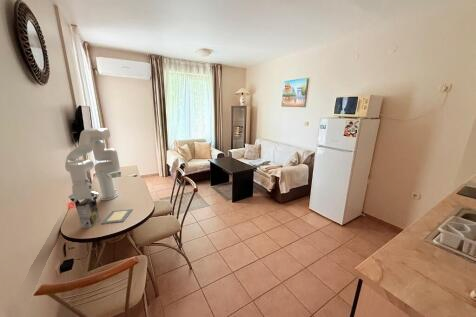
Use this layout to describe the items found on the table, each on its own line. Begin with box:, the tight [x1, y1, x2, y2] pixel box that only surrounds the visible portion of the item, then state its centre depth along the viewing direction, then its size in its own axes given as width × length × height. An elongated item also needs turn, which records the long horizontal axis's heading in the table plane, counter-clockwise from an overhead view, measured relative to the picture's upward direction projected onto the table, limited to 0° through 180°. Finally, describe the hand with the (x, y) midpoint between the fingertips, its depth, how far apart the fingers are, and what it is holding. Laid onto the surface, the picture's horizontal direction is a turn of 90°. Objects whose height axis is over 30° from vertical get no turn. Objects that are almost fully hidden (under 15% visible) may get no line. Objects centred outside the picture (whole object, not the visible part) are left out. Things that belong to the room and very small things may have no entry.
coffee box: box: [75, 199, 101, 229], centre depth 125 cm, size 9×6×16 cm
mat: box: [100, 208, 134, 225], centre depth 134 cm, size 16×14×1 cm
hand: (86, 206), depth 123 cm, fingers open, 9 cm apart
